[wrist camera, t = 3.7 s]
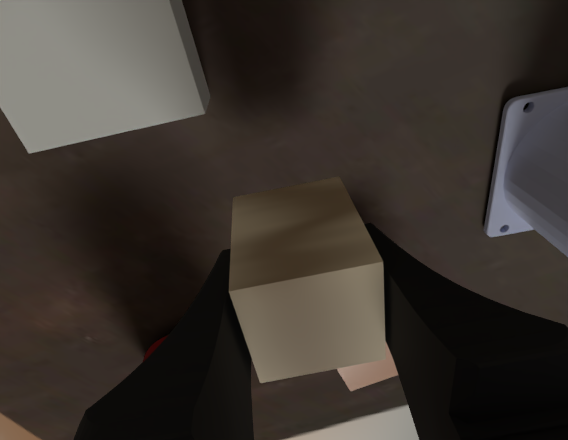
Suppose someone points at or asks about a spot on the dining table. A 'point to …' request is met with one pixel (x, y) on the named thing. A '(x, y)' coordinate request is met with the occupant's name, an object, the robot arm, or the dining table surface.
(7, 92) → the grey slab
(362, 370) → the terracotta block
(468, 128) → the dining table surface
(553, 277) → the dining table surface
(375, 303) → the maple block
